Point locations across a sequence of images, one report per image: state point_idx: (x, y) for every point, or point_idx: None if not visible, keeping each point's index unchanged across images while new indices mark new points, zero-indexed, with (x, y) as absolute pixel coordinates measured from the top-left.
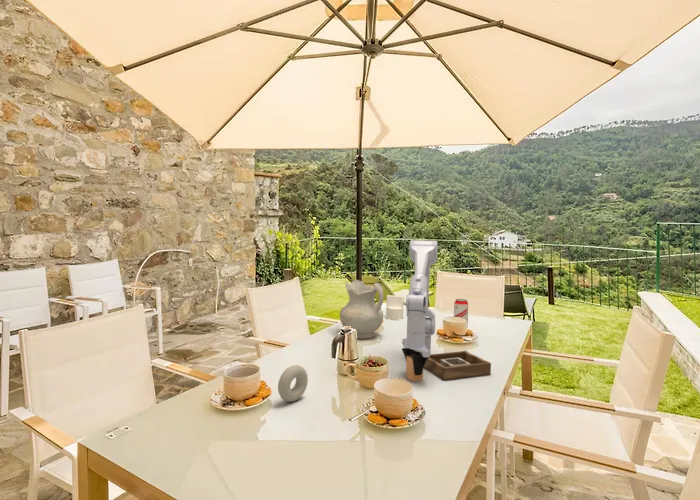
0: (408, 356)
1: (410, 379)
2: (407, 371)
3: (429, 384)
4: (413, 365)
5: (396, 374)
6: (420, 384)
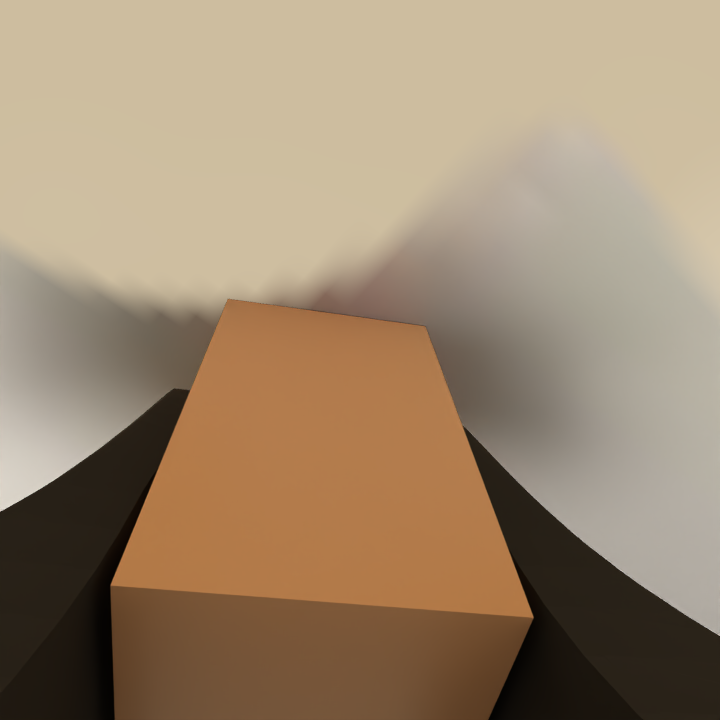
0: (444, 626)
1: (276, 309)
2: (393, 368)
3: (30, 440)
4: (162, 478)
5: (587, 250)
6: (63, 335)
